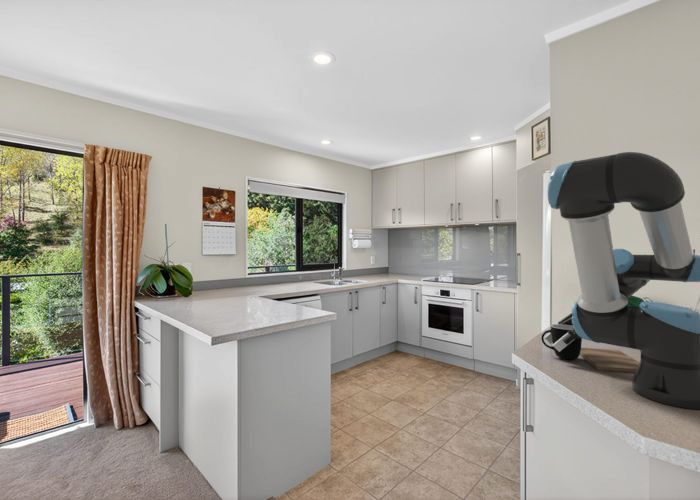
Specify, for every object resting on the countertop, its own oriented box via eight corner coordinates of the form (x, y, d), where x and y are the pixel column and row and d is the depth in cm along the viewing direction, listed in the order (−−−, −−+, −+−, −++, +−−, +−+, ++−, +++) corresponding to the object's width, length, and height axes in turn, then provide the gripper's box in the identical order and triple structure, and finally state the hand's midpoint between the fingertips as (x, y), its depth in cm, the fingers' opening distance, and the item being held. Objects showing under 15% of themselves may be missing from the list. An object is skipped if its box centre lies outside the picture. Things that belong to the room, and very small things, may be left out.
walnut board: (652, 374, 100) (652, 370, 100) (597, 369, 104) (597, 366, 104) (618, 353, 119) (618, 350, 119) (574, 350, 123) (574, 347, 123)
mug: (581, 354, 116) (580, 325, 117) (583, 361, 109) (582, 330, 109) (542, 350, 123) (541, 322, 123) (541, 356, 115) (540, 327, 115)
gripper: (631, 315, 101) (571, 363, 105) (599, 303, 122) (550, 344, 126) (610, 297, 102) (552, 345, 107) (582, 288, 123) (534, 329, 128)
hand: (551, 344), depth 116 cm, fingers closed on mug, 9 cm apart
